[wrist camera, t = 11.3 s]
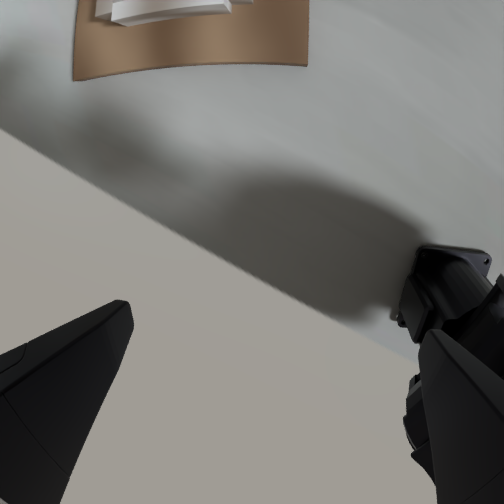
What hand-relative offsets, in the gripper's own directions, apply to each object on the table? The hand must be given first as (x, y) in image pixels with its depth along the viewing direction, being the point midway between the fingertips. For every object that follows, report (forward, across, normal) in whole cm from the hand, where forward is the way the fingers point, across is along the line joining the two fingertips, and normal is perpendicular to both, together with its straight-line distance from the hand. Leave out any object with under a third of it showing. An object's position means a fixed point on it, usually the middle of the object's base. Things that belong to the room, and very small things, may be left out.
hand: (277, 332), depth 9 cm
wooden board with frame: (+12, +7, -16) cm, 21 cm away
